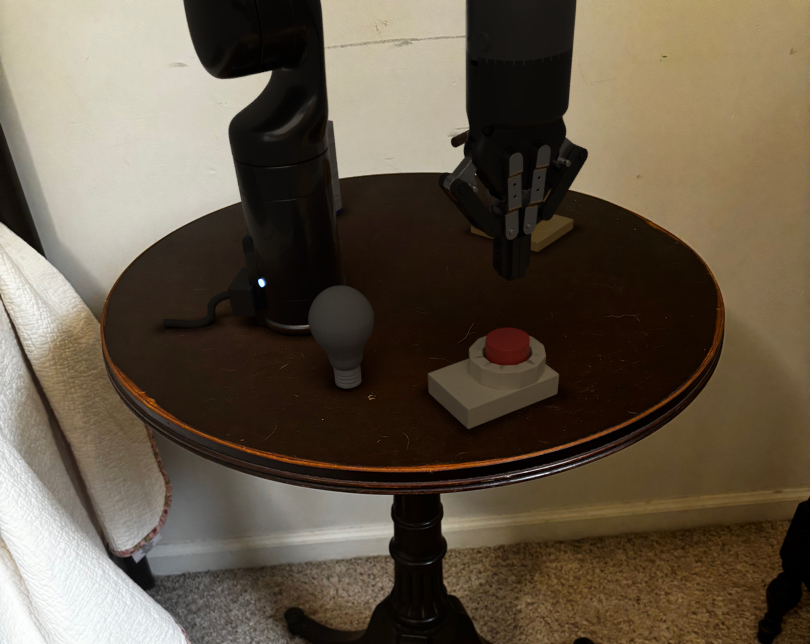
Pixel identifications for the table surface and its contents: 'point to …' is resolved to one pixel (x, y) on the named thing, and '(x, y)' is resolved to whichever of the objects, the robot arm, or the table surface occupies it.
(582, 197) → the table surface
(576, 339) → the table surface
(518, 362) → the bell button
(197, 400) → the table surface
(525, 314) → the table surface
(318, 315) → the light bulb
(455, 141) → the lever
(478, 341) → the block
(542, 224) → the stand
